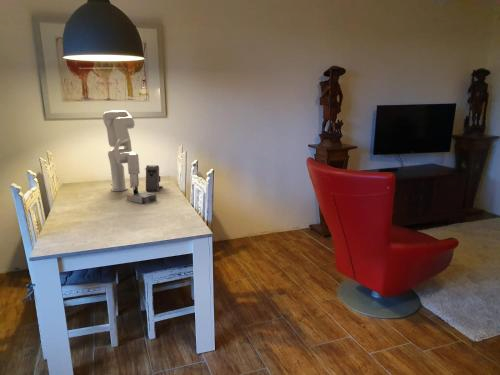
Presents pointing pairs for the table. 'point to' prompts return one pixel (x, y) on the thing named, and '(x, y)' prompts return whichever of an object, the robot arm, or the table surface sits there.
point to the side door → (135, 198)
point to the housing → (147, 197)
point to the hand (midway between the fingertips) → (136, 196)
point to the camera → (152, 178)
